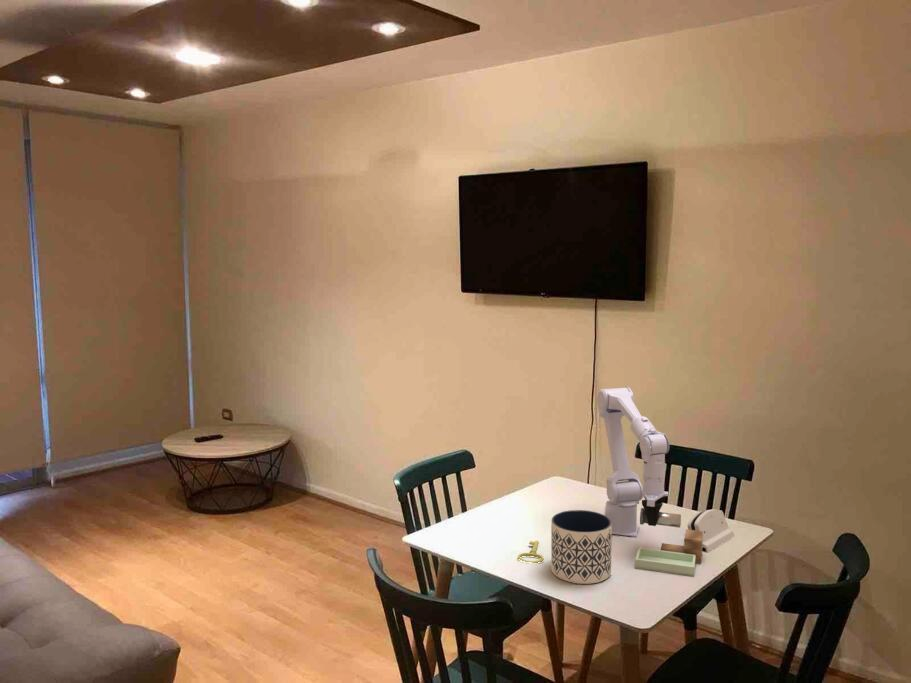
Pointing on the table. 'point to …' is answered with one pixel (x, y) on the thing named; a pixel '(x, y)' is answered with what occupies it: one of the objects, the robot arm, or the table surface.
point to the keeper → (688, 545)
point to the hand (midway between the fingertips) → (652, 522)
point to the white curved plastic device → (711, 528)
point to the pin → (663, 519)
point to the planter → (581, 546)
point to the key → (532, 553)
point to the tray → (665, 561)
